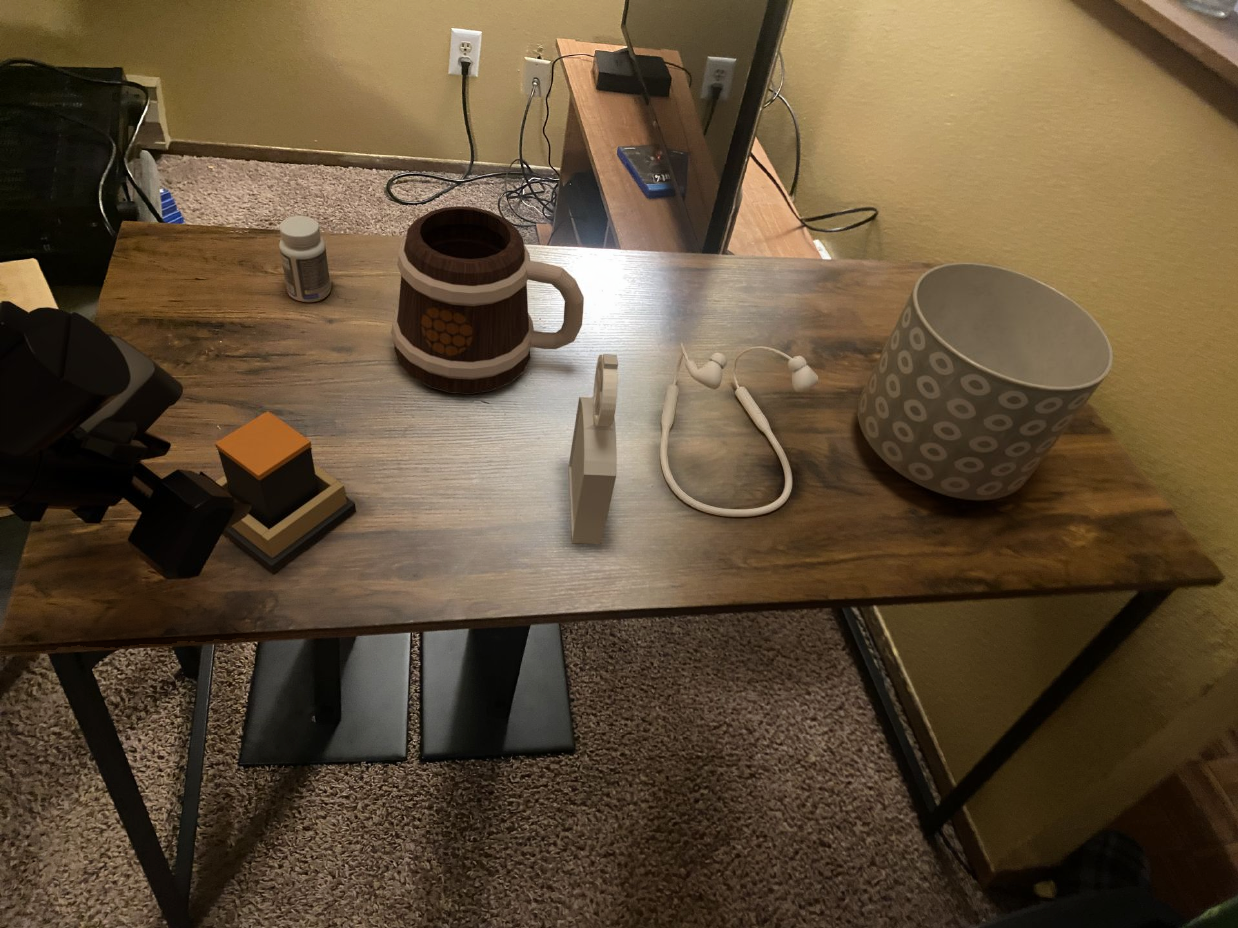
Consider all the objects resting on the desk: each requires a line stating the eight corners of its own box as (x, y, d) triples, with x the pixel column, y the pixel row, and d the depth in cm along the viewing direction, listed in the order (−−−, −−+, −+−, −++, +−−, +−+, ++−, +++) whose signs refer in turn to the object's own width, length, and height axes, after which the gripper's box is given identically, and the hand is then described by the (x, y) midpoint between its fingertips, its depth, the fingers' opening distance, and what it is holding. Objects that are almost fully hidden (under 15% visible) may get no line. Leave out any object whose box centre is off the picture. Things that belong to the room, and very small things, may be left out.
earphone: (765, 347, 94) (834, 346, 76) (756, 493, 96) (822, 525, 78) (647, 342, 91) (690, 340, 73) (640, 492, 93) (681, 525, 76)
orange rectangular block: (274, 538, 70) (258, 475, 64) (233, 507, 72) (214, 443, 66) (321, 504, 73) (310, 441, 67) (281, 474, 75) (267, 410, 69)
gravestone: (596, 468, 83) (623, 323, 70) (601, 544, 76) (632, 400, 63) (568, 466, 82) (590, 321, 69) (571, 543, 76) (596, 398, 63)
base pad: (273, 574, 69) (266, 547, 66) (202, 517, 72) (192, 489, 69) (356, 511, 75) (353, 484, 72) (287, 461, 77) (281, 433, 75)
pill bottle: (336, 282, 96) (329, 218, 90) (322, 306, 93) (313, 241, 87) (296, 275, 96) (285, 210, 90) (280, 299, 93) (268, 233, 87)
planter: (820, 397, 95) (880, 262, 82) (962, 388, 100) (1039, 260, 87) (894, 527, 83) (978, 394, 70) (1051, 510, 88) (1156, 383, 75)
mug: (375, 387, 86) (365, 263, 75) (411, 300, 96) (407, 181, 85) (567, 418, 87) (584, 300, 76) (582, 329, 97) (599, 215, 86)
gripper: (173, 416, 45) (345, 448, 60) (-27, 268, 51) (176, 331, 66) (79, 589, 46) (272, 579, 61) (-108, 425, 52) (110, 452, 67)
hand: (207, 478), depth 64 cm, fingers open, 9 cm apart
